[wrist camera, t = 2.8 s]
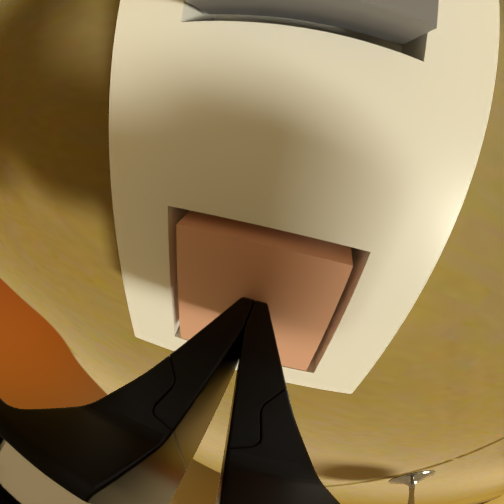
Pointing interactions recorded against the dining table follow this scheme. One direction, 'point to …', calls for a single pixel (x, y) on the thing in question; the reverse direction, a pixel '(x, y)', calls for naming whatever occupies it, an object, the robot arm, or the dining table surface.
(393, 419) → the dining table surface
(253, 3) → the charcoal key
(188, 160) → the cream block puzzle board
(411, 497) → the wine glass
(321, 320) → the terracotta key
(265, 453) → the robot arm
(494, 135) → the dining table surface
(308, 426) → the dining table surface
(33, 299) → the dining table surface
